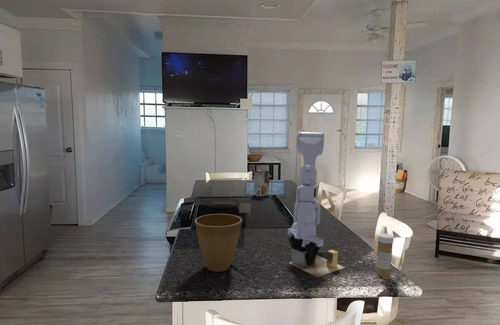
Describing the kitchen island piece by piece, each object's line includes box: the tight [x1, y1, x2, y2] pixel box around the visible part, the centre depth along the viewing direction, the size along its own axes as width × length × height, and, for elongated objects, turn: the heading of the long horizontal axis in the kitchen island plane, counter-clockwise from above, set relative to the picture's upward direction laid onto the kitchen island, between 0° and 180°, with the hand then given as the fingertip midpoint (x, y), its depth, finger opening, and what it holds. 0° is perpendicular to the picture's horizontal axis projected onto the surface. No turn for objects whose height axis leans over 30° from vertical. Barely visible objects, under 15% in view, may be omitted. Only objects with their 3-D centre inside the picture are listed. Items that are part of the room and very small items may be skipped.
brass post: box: [326, 249, 339, 268], centre depth 114 cm, size 2×2×6 cm
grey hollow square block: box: [290, 245, 316, 269], centre depth 115 cm, size 6×6×5 cm
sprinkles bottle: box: [375, 233, 394, 280], centre depth 109 cm, size 5×5×13 cm
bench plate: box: [288, 254, 346, 278], centre depth 115 cm, size 13×13×1 cm
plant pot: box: [194, 213, 243, 273], centre depth 113 cm, size 15×15×16 cm
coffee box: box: [253, 169, 270, 198], centre depth 225 cm, size 9×6×16 cm
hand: (303, 261), depth 116 cm, fingers closed on grey hollow square block, 6 cm apart
